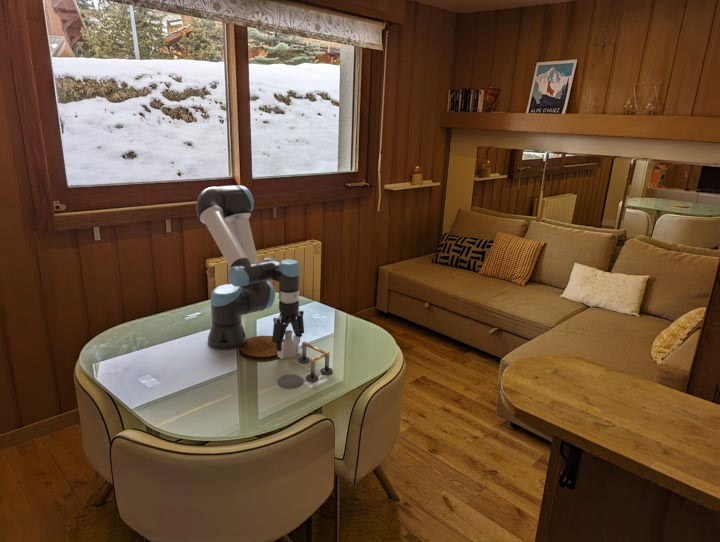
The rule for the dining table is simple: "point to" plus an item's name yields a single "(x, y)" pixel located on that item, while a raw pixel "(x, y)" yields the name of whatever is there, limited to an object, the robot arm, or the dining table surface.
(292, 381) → the pad
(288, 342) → the flask
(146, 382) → the dining table surface
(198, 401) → the dining table surface
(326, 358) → the wire rail
